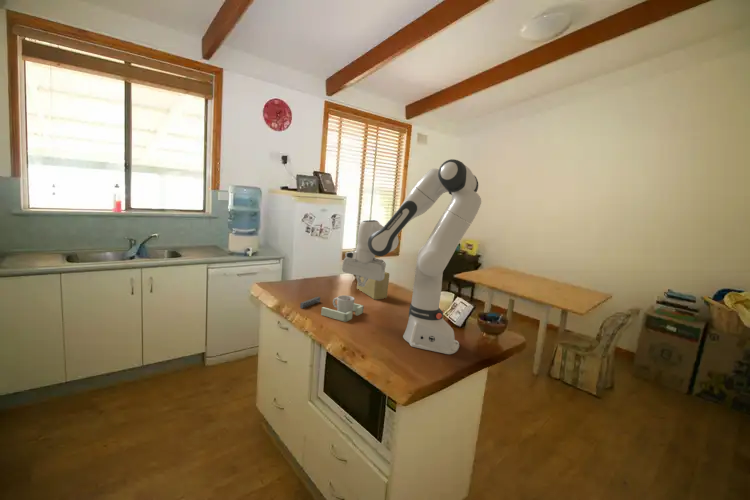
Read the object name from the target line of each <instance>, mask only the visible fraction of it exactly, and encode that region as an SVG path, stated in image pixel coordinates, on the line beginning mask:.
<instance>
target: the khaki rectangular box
mask: <svg viewBox="0 0 750 500" xmlns="http://www.w3.org/2000/svg"><path fill="white" fill-rule="evenodd" d="M363 278H364V277H361V278H360V280H361V282H363V281H364V279H363ZM356 282H357V283H356V290H358V289H359V290H358V291H360V292H361V291H362V293H363V294H365V295H366V296H368V297H370V298H372V299H373V300H383V299H384V298H385V299H387V298H388V289H389V283H390V273H389V272H386V271H385V277H384V279H383V280H382V281H377V280H373V279H369V278H368V280H367V282H366V283H365V287H362V286H358V281H357V280H356Z"/></svg>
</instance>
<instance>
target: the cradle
mask: <svg viewBox="0 0 750 500" xmlns="http://www.w3.org/2000/svg"><path fill="white" fill-rule="evenodd" d="M364 307H365V306H364V305H363V304H359V303H355V302H354V305H353V310H352V311H349V312H347V313H343V312H340V311H337V310H336V309H331V308H328V307H324V306H323V307H321V312H320V315H321V316H324V317H327V318H330V319H333V320H334V319H335V320H336V321H341V322H344V323H346V322H348V321H350V320H352V319H353V312H355V313H354V316H360V315H362V314H364Z"/></svg>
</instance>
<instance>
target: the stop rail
mask: <svg viewBox="0 0 750 500" xmlns="http://www.w3.org/2000/svg"><path fill="white" fill-rule="evenodd" d="M320 302H321V296H315V297H312V298H310V299H307V300H304V301H301V302H300V309H302V310H304V309H305V308H308V307H310V306H313V305H315V304H318V303H320Z"/></svg>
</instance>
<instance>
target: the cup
mask: <svg viewBox="0 0 750 500" xmlns="http://www.w3.org/2000/svg"><path fill="white" fill-rule="evenodd" d="M355 300H356V299H355V297H354V296H350V295H338V296H337V297H335V298H333V299H332V305H333V307H334V308H336V309H337V310H336V311H340V312H343V313H347V312H349V311H352V310H353V305H354V303H355Z"/></svg>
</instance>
